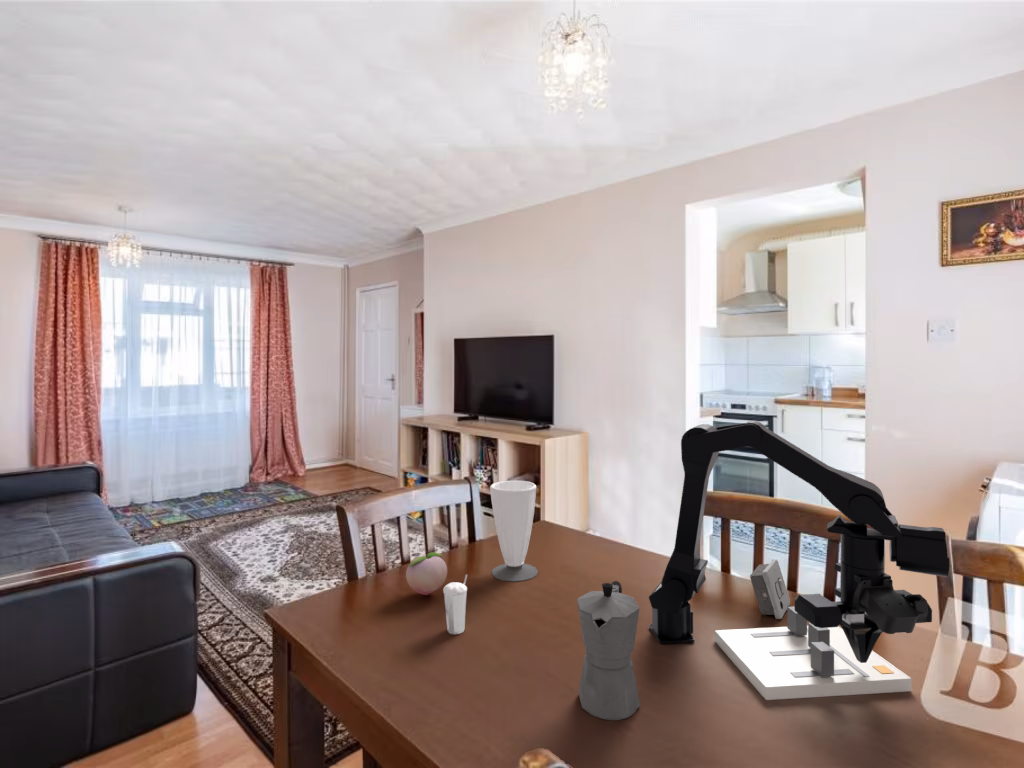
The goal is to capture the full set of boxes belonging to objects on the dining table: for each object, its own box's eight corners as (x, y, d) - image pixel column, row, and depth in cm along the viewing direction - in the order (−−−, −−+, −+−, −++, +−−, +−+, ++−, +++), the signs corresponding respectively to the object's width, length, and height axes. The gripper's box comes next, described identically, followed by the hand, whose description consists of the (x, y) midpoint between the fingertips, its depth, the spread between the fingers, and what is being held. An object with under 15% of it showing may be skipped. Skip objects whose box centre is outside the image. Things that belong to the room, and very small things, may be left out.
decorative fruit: (428, 608, 111) (427, 561, 111) (400, 599, 115) (399, 554, 115) (456, 591, 119) (455, 547, 119) (428, 584, 123) (427, 541, 123)
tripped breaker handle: (821, 676, 81) (821, 651, 81) (810, 667, 83) (810, 642, 83) (834, 676, 81) (834, 650, 81) (822, 666, 83) (822, 641, 83)
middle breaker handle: (818, 654, 87) (818, 630, 87) (808, 645, 90) (808, 622, 89) (829, 653, 87) (829, 629, 87) (819, 645, 90) (819, 622, 90)
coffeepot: (633, 737, 72) (632, 607, 71) (566, 721, 75) (564, 597, 74) (647, 675, 86) (647, 566, 85) (591, 664, 89) (589, 559, 89)
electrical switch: (780, 621, 103) (775, 573, 103) (752, 616, 106) (748, 570, 106) (791, 604, 110) (786, 559, 110) (764, 600, 113) (760, 556, 114)
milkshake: (475, 628, 102) (474, 577, 102) (454, 639, 98) (453, 586, 98) (460, 620, 105) (459, 571, 105) (439, 631, 101) (438, 579, 101)
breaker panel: (766, 700, 79) (766, 686, 79) (714, 641, 96) (714, 629, 96) (911, 691, 81) (911, 677, 80) (835, 634, 98) (835, 623, 97)
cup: (538, 581, 124) (537, 490, 123) (490, 582, 124) (488, 491, 123) (537, 563, 135) (535, 479, 135) (492, 563, 135) (490, 480, 135)
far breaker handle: (796, 635, 93) (796, 613, 93) (787, 628, 96) (787, 606, 95) (807, 635, 93) (807, 612, 93) (798, 627, 96) (798, 606, 96)
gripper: (840, 587, 73) (840, 697, 74) (966, 581, 75) (965, 689, 75) (792, 558, 84) (792, 653, 85) (902, 553, 86) (902, 647, 86)
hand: (861, 661), depth 83 cm, fingers closed
